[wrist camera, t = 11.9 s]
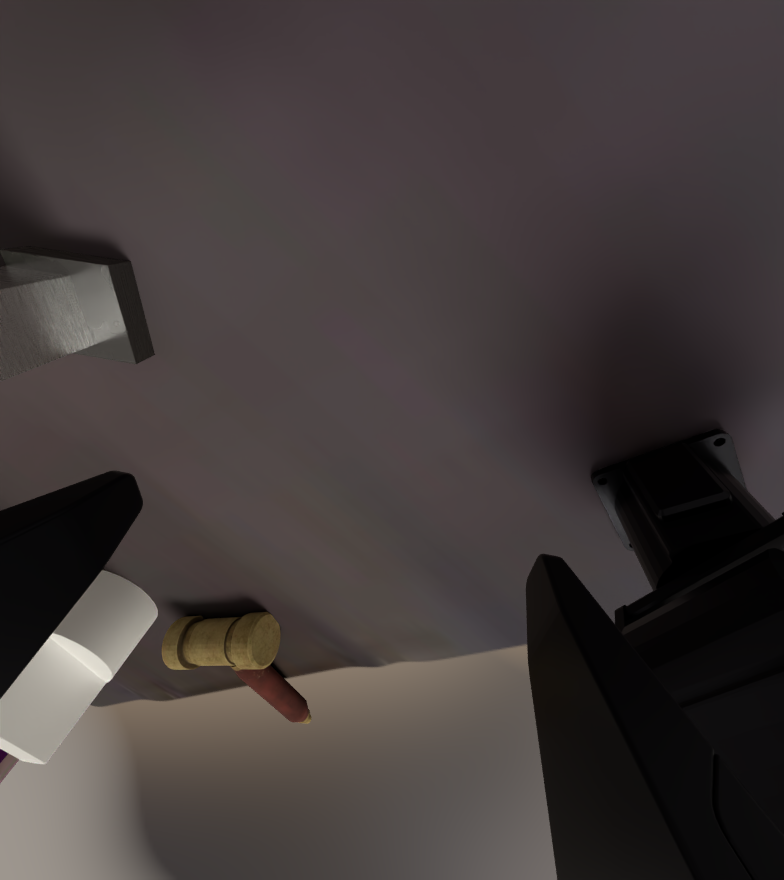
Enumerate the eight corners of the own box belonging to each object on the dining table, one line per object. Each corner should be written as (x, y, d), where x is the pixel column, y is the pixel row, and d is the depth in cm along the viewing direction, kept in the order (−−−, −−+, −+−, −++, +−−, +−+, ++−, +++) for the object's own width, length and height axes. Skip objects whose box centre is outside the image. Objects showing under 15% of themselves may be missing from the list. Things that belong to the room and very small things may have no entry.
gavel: (341, 746, 42) (266, 741, 45) (350, 699, 46) (280, 697, 49) (241, 653, 31) (150, 655, 34) (264, 601, 35) (180, 607, 38)
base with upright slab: (53, 571, 37) (-97, 706, 27) (119, 565, 35) (-19, 712, 25) (111, 624, 42) (0, 759, 32) (174, 623, 39) (75, 768, 29)
